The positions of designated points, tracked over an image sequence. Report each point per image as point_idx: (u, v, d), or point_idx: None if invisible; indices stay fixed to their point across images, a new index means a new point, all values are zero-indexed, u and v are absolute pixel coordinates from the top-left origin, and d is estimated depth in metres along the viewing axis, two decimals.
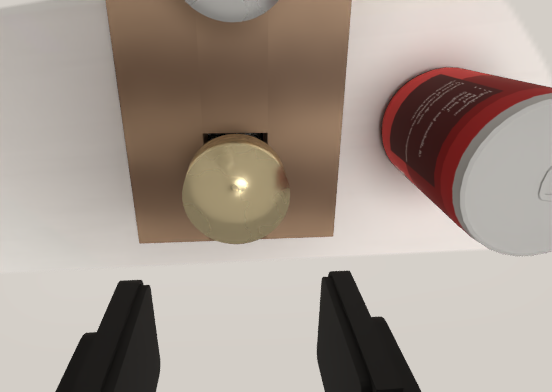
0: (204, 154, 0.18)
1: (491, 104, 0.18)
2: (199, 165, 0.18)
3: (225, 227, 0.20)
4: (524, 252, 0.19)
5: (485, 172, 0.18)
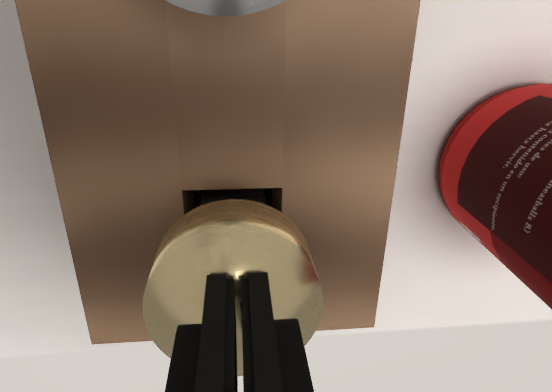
0: (178, 245, 0.10)
1: None
2: (171, 265, 0.11)
3: None
4: None
5: None
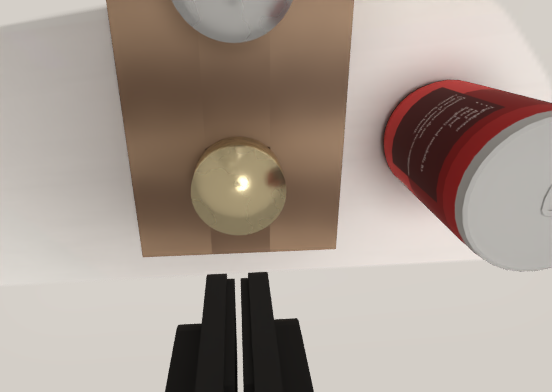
0: (210, 155, 0.21)
1: (493, 120, 0.18)
2: (206, 165, 0.21)
3: (229, 220, 0.22)
4: (527, 267, 0.19)
5: (487, 189, 0.18)
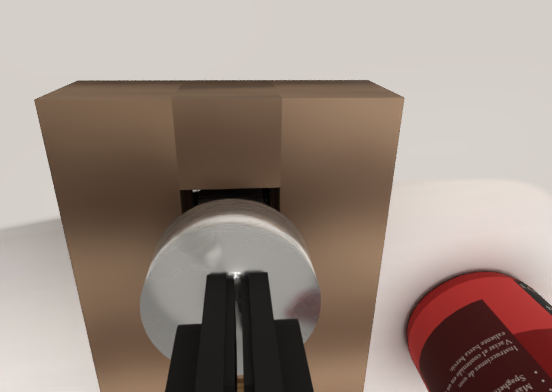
0: None
1: None
2: None
3: None
4: None
5: None
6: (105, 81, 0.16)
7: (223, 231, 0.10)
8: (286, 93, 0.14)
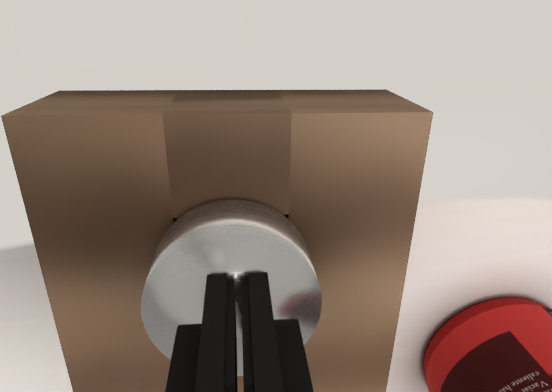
0: None
1: None
2: None
3: None
4: None
5: None
6: (90, 91, 0.14)
7: (225, 231, 0.10)
8: (296, 106, 0.12)
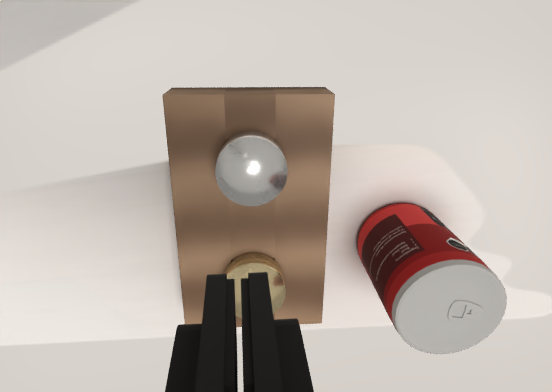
0: (235, 271, 0.31)
1: (415, 261, 0.28)
2: (232, 277, 0.31)
3: None
4: (441, 352, 0.29)
5: (410, 305, 0.28)
6: (186, 88, 0.32)
7: (248, 137, 0.27)
8: (278, 92, 0.29)
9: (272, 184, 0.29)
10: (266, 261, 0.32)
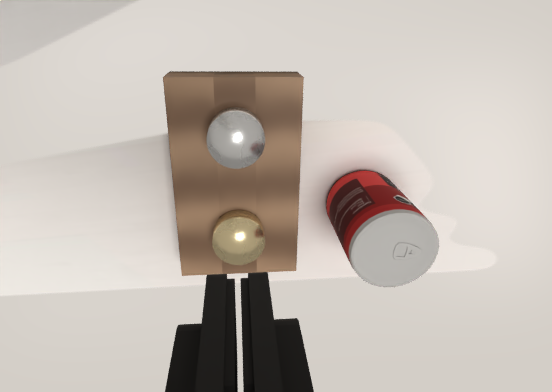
0: (223, 223, 0.38)
1: (367, 211, 0.35)
2: (221, 228, 0.38)
3: (233, 257, 0.39)
4: (389, 285, 0.37)
5: (363, 246, 0.35)
6: None
7: (233, 112, 0.34)
8: (257, 75, 0.36)
9: (253, 150, 0.35)
10: (249, 216, 0.39)
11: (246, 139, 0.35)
